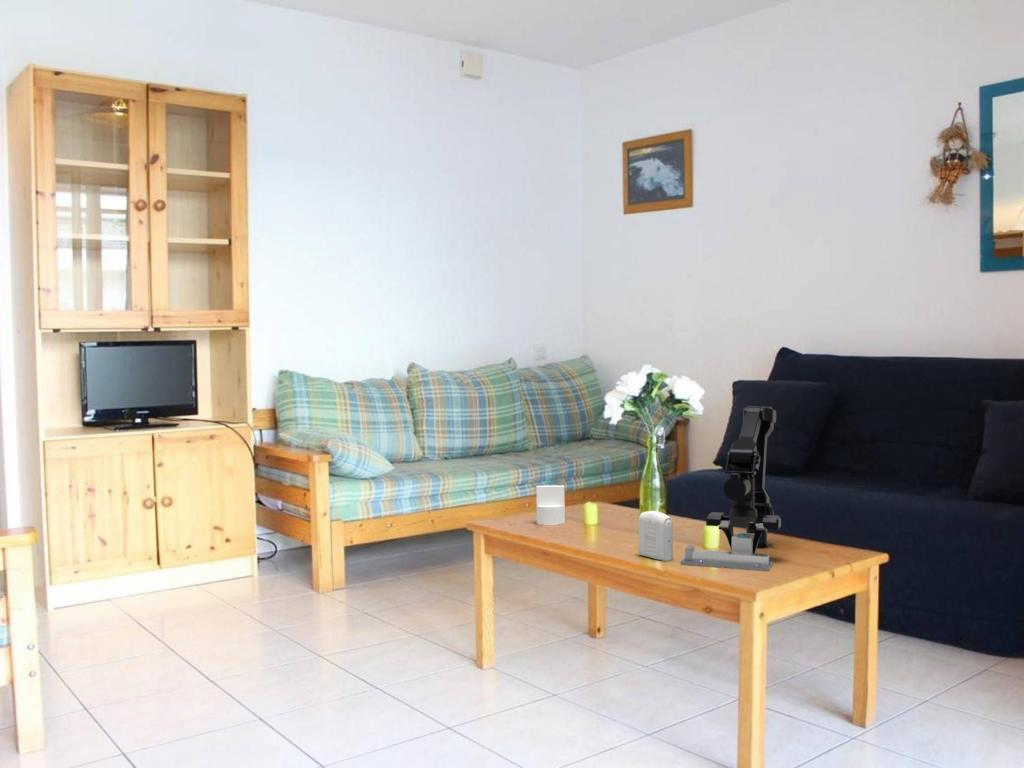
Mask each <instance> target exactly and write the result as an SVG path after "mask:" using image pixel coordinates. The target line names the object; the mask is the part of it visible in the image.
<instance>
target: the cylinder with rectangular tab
mask: <svg viewBox="0 0 1024 768" xmlns="http://www.w3.org/2000/svg"><path fill="white" fill-rule="evenodd" d="M535 487H536V488H535V493H536V494H535V496H536V497H535V499H536V501H535V502H536V504H535V506H536V524H537V523H538V524H544V525H557V524H562V523H565V524H566V518H565V517H566V508H565V507H566V506H565V504H566V503H565V500H566V499H565V498H566V497H565V485H563V484H561V485H560V484H559V485H558V484H557V485H555V484H554V485H551V484H550V485H536V486H535Z"/></svg>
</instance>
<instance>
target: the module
mask: <svg viewBox="0 0 1024 768" xmlns="http://www.w3.org/2000/svg"><path fill="white" fill-rule="evenodd" d="M753 541H754V534H752V533H746V532H735V533H734V535H733V537H732V551H731V552H742V553H753Z"/></svg>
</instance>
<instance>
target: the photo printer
mask: <svg viewBox="0 0 1024 768" xmlns="http://www.w3.org/2000/svg"><path fill="white" fill-rule="evenodd" d="M638 517H639V518H638V554H639V555H640V556H642V557H643V556H644V557H647V558H651V559H655V560H660V561H662V562H670V561H672V559H673V558H674V557H673V556H674V521H673V519H672V518H671V517H670V516H669V515H667V514H665V513H663V512H661V511H657V510H647V511H643V512H641V513H640V514H639V516H638Z"/></svg>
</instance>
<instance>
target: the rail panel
mask: <svg viewBox="0 0 1024 768" xmlns="http://www.w3.org/2000/svg"><path fill="white" fill-rule="evenodd" d="M681 564H682V566H697V567H707V566H712V567H711V568H721V567H727V568H726V569H734V568H737V570H748V569H750V570H752V571H761V572H762V571H763V570H764V572H769V570H770V569H771V567H772V566H771V565H773V560H770V554H767V553H756V552H755V553H742V552H732V551H725V550H712V549H711V550H710V549H695V545H690V544H688V545H687V546H686V547H685V548H684V558H682V559H681V561H680V565H681ZM750 570H749V571H750Z"/></svg>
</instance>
